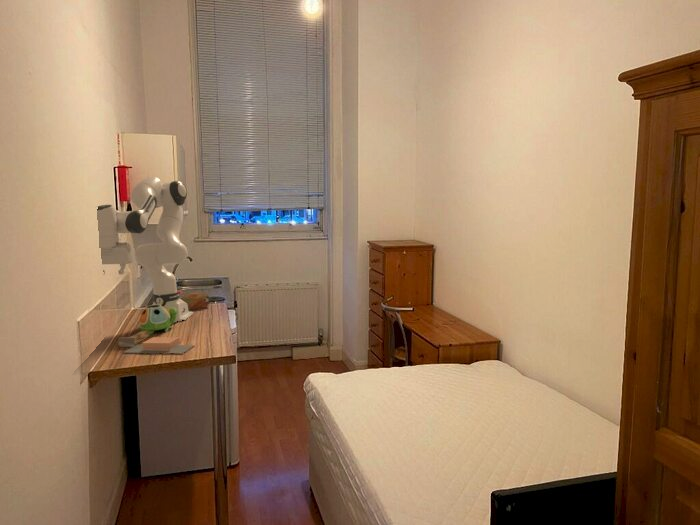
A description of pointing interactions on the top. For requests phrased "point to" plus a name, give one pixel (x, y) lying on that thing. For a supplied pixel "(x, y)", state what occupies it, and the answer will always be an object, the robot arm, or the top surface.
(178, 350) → the mat
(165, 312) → the turtle holder
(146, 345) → the tile
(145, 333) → the scraper
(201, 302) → the brown rounded slab
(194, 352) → the top surface
